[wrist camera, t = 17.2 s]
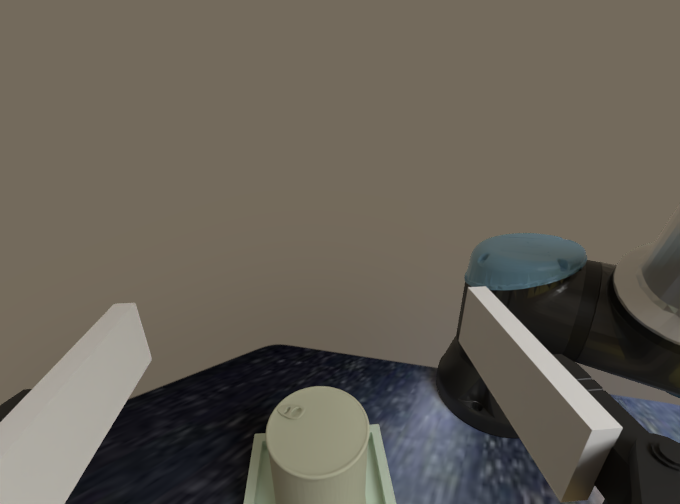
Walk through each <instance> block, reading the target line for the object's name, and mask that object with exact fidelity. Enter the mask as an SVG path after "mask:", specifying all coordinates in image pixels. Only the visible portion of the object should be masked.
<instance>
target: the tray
mask: <svg viewBox="0 0 680 504" xmlns="http://www.w3.org/2000/svg"><path fill="white" fill-rule="evenodd" d="M369 427H370V434H369V440H368V449H367V466H366V486H365V497H366V504H396V501H395V496H394V492H393V487H392V483H391V478H390V474H389V469H388V464H387V460H386V455H385V451H384V446H383V442H382V437H381V433H380V428H379V424H375V425H369ZM244 504H276V503H275V495H274V487H273V480H272V472H271V465H270V458H269V452H268V449H267V445H266V433H261V434H255V435H254V441H253V448H252V454H251V460H250V466H249V473H248V479H247V485H246V491H245V498H244Z"/></svg>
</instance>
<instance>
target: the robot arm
mask: <svg viewBox="0 0 680 504" xmlns="http://www.w3.org/2000/svg"><path fill="white" fill-rule="evenodd" d="M151 360H152V358H151V354H150V351H149V348H148V344H147V341H146V338H145V334H144V331H143V327H142V324H141V320H140V317H139V313H138V310H137V307H136V303H118V304H114V305H113V306H112V307H111V308H110V309H109V310H108V311H107V312H106V313H105V314H104V315H103V316H102V317H101V318H100V319H99V320H98V321H97V322H96V323H95V324H94V326H92V327H91V328H90V329H89V330H88V332H87V333H86V334H85V335H84V336H83V337H82V338H81V339H80V340H79V341H78V342H77V343H76V344H75V345H74V346H73V347H72V348H71V349H70V351H68V352H67V354H66V355H65V356H64V357H63V358H62V359H61V360H60V361H59V362H58V363H57V364H56V365H55V366H54V367H53V368H52V369H51V370H50V371H49V372H48V373H47V374H46V375H45V376H44V377H43V378H42V380H41V381H39V383H38V384H37V385H36V386H35V387H34V388H33V389H27V390H23V391H21V392H20V393H18V394H17V395H15V396H14V397H12V398H11V399H9V400H8V401H6V402H5V403H3V404H2V405H1V406H0V504H65V502H66V500H67V499H68V497H69V495H70V494H71V492H72V490H73V489H74V487H75V486H76V484H77V482H78V481H79V479H80V477H81V476H82V474H83V472H84V471H85V469H86V467H87V466H88V464H89V462H90V461H91V459H92V457H93V456H94V454H95V453H96V451H97V449H98V448H99V446H100V444H101V443H102V441H103V439H104V438H105V436H106V434H107V433H108V431H109V429H110V428H111V426H112V424H113V423H114V421H115V420H116V418H117V416H118V415H119V413H120V411H121V410H122V408H123V406H124V405H125V403H126V401H127V400H128V398H129V396H130V395H131V393H132V391H133V390H134V388H135V386H136V385H137V383H138V382H139V380H140V378H141V377H142V375H143V373H144V371H145V370H146V368H147V367H148V365H149V363H150V362H151ZM575 362H577V363H580V364H583V365H586V366H589V367H592V368H595V369H598V370H601V371H604V372H607V373H610V374H613V375H617V376H620V377H623V378H626V379H629V380H632V381H635V382H638V383H641V384H645V385H647V386H651V387H654V388H657V389H660V390H663V391H666V392H667V393H669V394H671V395H673V396H676V397H678V398H680V203H679V205H678V206H677V208H676V209H675V211H674V213H673V214H672V216H671V217H670V219H669V220H668V222H667V223H666V225H665V227H664V228H663V230H662V231H661V233H660V234H659V236H658V237H657V239H656V241H655V242H653V243H649V244H645V245H642V246H639V247H637V248H635V249H633V250H631V251H630V252H628V253H627V254H625V255H624V256H623V257H622V258H621V260H620V261H619V262H618V264H617V265H612V264H607V263H602V262H595V261H590V260H587V255H586V252H585V250H584V248H583V247H582V246H581V245H579V244H578V243H576V242H574V241H571V240H563V239H562V238H561V237H557V236H552V235H545V234H534V233H517V234H506V235H501V236H495V237H491V238H489V239H486V240H484V241H482V242H481V243H479V244H478V245H477V246H476V247H475V249H474V250H473V252H472V254H471V258H470V262H469V266H468V270H467V272H466V273H465V287H464V293H463V299H462V305H461V311H460V317H459V323H458V328H457V335H456V337H455V338H454V340H453V341H452V343H451V344H450V346H449V348H448V350H447V351H446V353H445V354H444V356H443V357H442V358H441V360H440V362H439V365H438V371H437V378H436V383H437V388H438V391H439V394H440V396H441V398H442V400H443V401H444V403H445V404H446V405H447V406H448V408H449V409H450V410H451V411H452V412H453V413H454V414H455V415H457V416H458V417H459V418H460V419H462V420H463V421H464V422H466V423H468V424H469V425H471V426H473V427H475V428H477V429H479V430H481V431H483V432H486V433H489V434H492V435H496V436H500V437H506V438H520V439H521V441H522V442H523V444H524V446H525V447H526V449H527V450H528V452H529V453H530V455H531V457H532V458H533V460H534V461H535V463H536V465H537V466H538V468H539V469H540V471H541V472H542V474H543V476H544V477H545V479H546V480H547V482H548V483H549V485H550V487H551V488H552V490H553V491H554V493H555V495H556V496H557V498H558V499H559V501H560V502H561V503H562V502H572V501H581V500H588V498H589V496H590V494H591V492H592V490H593V488H594V486H596V487H597V489H598V490H599V491H600V493H601V494H602V495H603V497H604V498H605V500H604V502H603V504H680V443H678V442H676V441H674V440H672V439H670V438H668V437H665V436H661V435H658V434H651V433H649V432H648V431H646V430H645V429H644V428H643V427H642V426H641V425H640V424H639V423H638V422H637V421H636V420H635V419H634V418H633V417H632V416H631V415H630V414H629V413H628V412H627V411H626V410H625V409H624V408H623V407H622V406H621V405H620V404H619V403H618V402H617V401H615V400H614V399H613V398H612V397H611V396H610V395H609V394H608V393H607V392H606V391H603V389H602V387H601V386H600V385H599V384H598V383H597V382H596V381H595V380H592V378H591V376H590V375H589V374H588V373H587V372H585V371H584V370H583V369H582V368H581V367H580V366H579V365H578V364H577V363H575Z"/></svg>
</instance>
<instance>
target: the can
mask: <svg viewBox="0 0 680 504" xmlns="http://www.w3.org/2000/svg"><path fill="white" fill-rule="evenodd" d="M369 434H370V427H369V421H368V417H367V414H366V412H365V410H364V409H363V407H362V406H361V404H360V403H359V402H358V401H357V400H356V399H355V398H354V397H353V396H351V395H350V394H348V393H346V392H344V391H342V390H340V389H337V388H333V387H327V386H315V387H308V388H304V389H301V390H299V391H296V392H294V393H292V394H290V395H289V396H287V397H286V398H285V399H283V400H282V401H281V402H280V403H279V404H278V405H277V406H276V408H275V409H274V410H273V412H272V414H271V416H270V418H269V420H268V423H267V427H266V445H267V449H268V452H269V458H270V465H271V472H272V480H273V487H274V495H275V503H276V504H366V497H365V486H366V466H367V449H368V440H369Z"/></svg>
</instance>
